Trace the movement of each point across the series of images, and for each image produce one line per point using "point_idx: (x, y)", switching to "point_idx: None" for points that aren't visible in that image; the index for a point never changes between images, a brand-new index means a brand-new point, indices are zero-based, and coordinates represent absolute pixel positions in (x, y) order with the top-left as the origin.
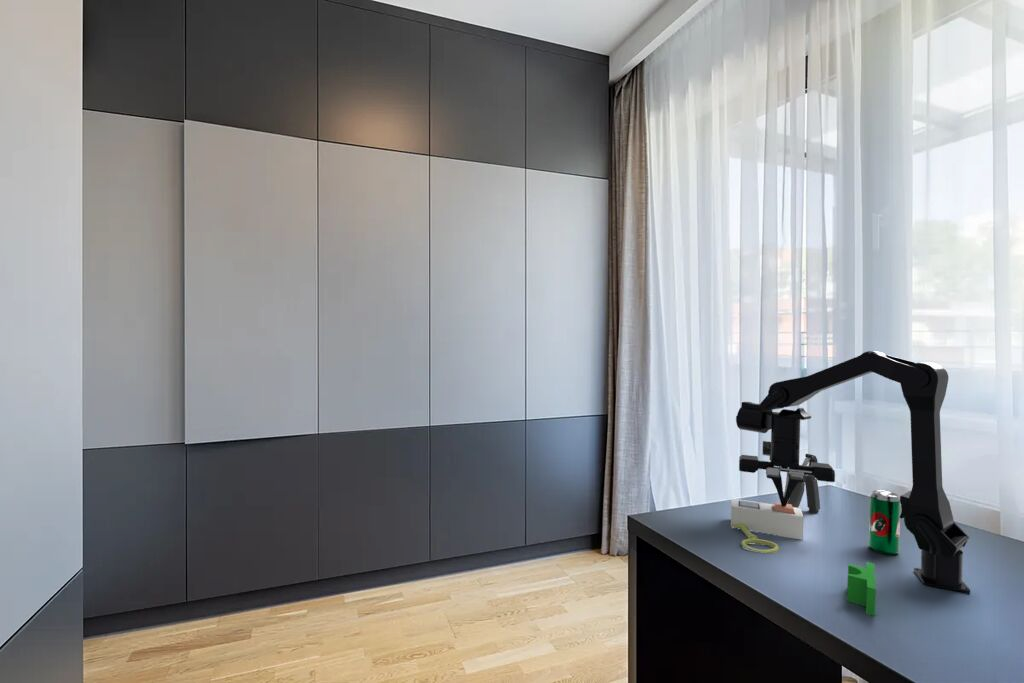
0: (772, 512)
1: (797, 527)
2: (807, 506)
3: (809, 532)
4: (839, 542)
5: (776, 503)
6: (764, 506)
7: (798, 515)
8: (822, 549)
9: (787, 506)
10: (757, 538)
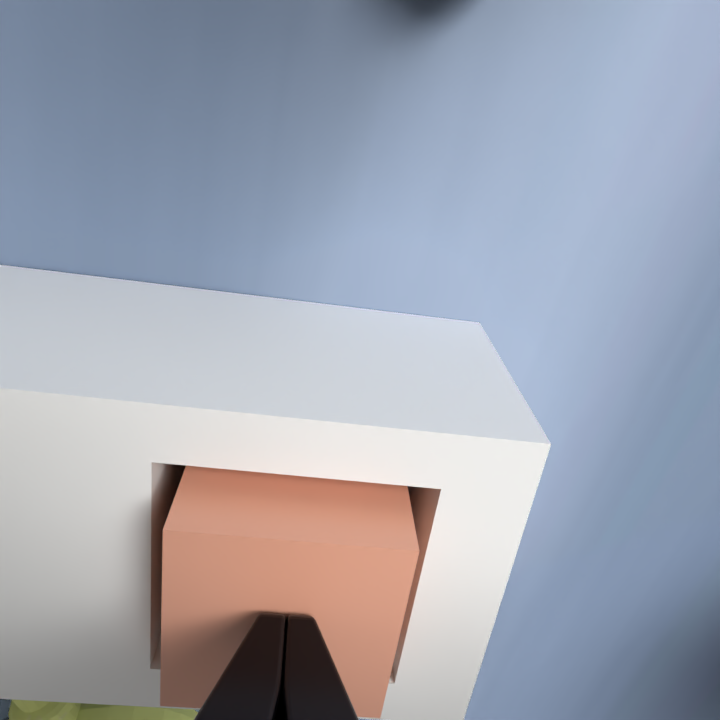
0: (143, 704)
1: None
2: None
3: (550, 355)
4: (706, 497)
5: (195, 585)
6: (48, 544)
7: (421, 699)
8: (507, 650)
9: (332, 648)
10: (71, 709)
